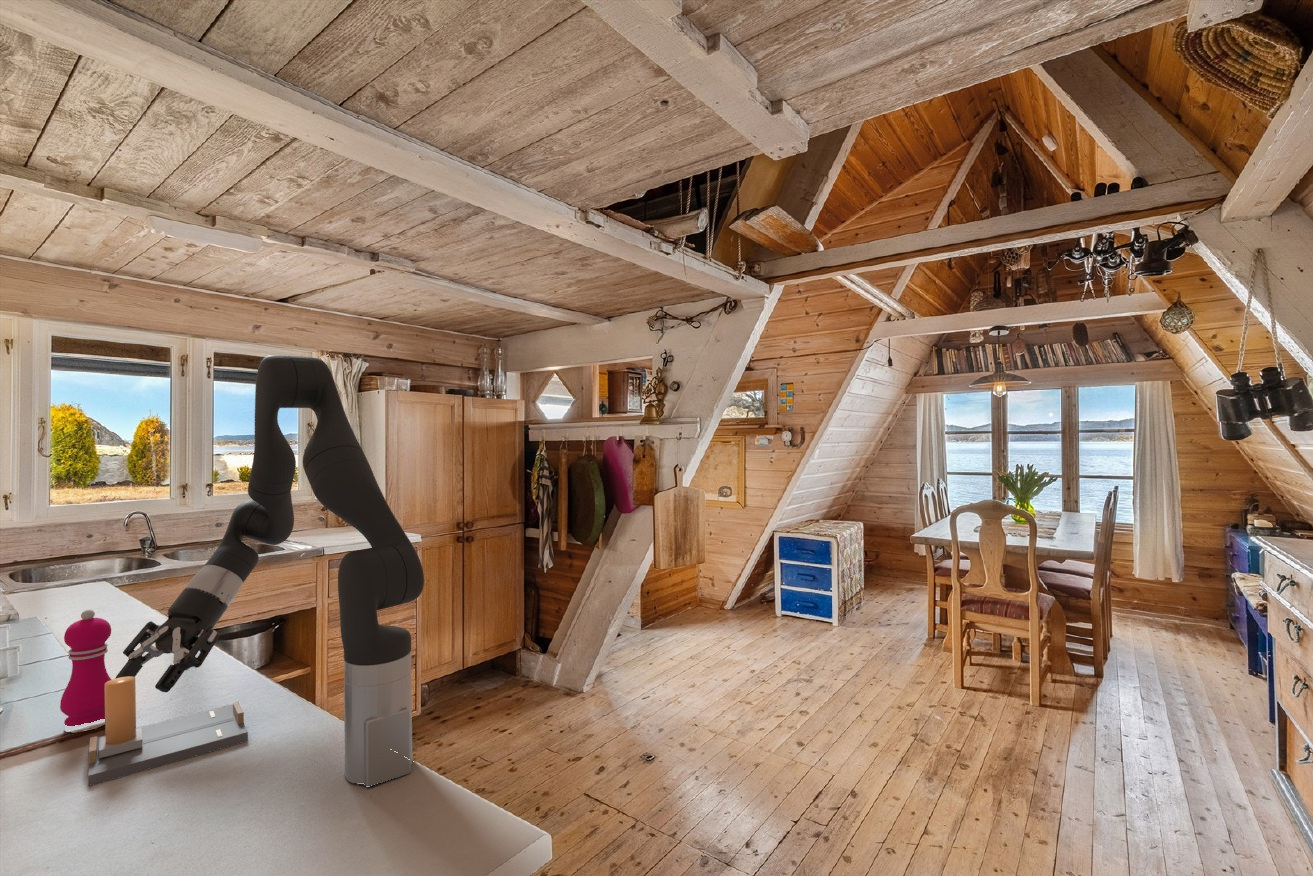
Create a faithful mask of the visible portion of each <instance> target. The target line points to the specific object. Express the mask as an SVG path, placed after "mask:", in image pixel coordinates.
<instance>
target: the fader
mask: <svg viewBox="0 0 1313 876" xmlns="http://www.w3.org/2000/svg"><path fill="white" fill-rule="evenodd" d="M115 678H116V677H115ZM115 678H114V679H111V680H110V681H108V682H106V683H105V726H104V728H105V730H104V733H105V735H104V736H105V737H102V736H101V737H102V738H100V740H99V758H103V757H107V756H110V755H114V754H118V753H122V752H126V751H129V750H133V749H137V748H141V747H143V739H142V729H141V728H138V727H137V700H136V693H137V691H136V687H137V686H136V676H135V677H132V676H128V677H121V678H116V679H115ZM136 728H138V729H136Z"/></svg>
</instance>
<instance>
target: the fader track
mask: <svg viewBox="0 0 1313 876" xmlns="http://www.w3.org/2000/svg"><path fill="white" fill-rule="evenodd" d="M244 713H245V712H244V710H243V708H242V705H241V704H240V702H239V701H235V702H232V704H228V705H225V706H220V707H217V708H212V709H207V710H204V711H200V712H196V713H192V714H187V715H184V716H180V717H175V718H172V719H167V720H163V721H158V722H156V723H152V724H151V723H150V724H147V725H143V726H140V727H136V729H138V728H141V729H142V739H143V747H141V748H137V749H133V750H129V751H126V752H122V753H118V754H114V755H110V756H107V757H103V758H99V740H100V738H102V737H105V735H103V736H99V737H98V736H97V735H95V736H91V737H90V738H89V748H88V775H87V776H88V779H87V781H88V784H87V785H88V787H89V786H90V787H91V786H93V785H98V784H101V783H104V782H109V781H113V780H115V779H118V778H123V777H126V776H129V775H133V774H136V773H140V772H144V771H147V770H150V769H154V768H157V767H160V766H165V765H168V764H172V763H175V762H179V761H182V760H186V759H189V758H190V759H191V758H193V757H196V756H195V755H197V756H200V755H203V754H202V753H204V754H207V753H210V752H209V751H211V752H213V751H214V750H215V751H217V749H218V750H220V748H222V749H225V748H228V747H227V746H229V747H232V746H236V745H239V744H242V743H241V742H243V743H246V742H248V741H249V732H248V729H247V726H246V725H245V722H244V721H245V719H244V718H245V717H244V716H245V715H244ZM238 743H239V744H238ZM235 744H236V745H235ZM224 747H225V748H224ZM206 752H207V753H206Z"/></svg>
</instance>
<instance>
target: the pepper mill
mask: <svg viewBox="0 0 1313 876" xmlns="http://www.w3.org/2000/svg"><path fill="white" fill-rule="evenodd" d="M80 618H81V619H79V620H77V621H74V622H73V623H72V624H70V625H69V626H68V627H67V628H66V630H65V632H64V635H63V636H64V637H63V640H64V641H63V642H64V643H65V645H66V646H68V647H69V648H70V649H69V650H68V654H69V656H68V657H67V658H68V659H69V660H71V665H72V666H71V674H70V678H69V681H68V683H67V685H66V688H65V689H64V690H63V693H62V695H61V698H60V704H59V709H60V712H62V713H63V714H64V715H65V716H67V717H65V719H64V721H63V722H64V723H63V725H64V724H65V725H67V726H75V725H81V724H84V723H91V722H94V721H97V720H100V719H105V683H106V682H108V681H110V680H112V678H111V677H110V675H109V673H108V672H107V668H106V663H105V655H106V654H107V653H108V651H109V649H108V646H109V644H108V643H106V641H108V639H109V638H110V637H111V634H112V627H111V624H110V622H109V621H107V620H106V619H103V618H100V617H95V611H94V610H92V609H85V610H83V611H82V612H81V613H80Z"/></svg>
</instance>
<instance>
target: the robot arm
mask: <svg viewBox="0 0 1313 876" xmlns="http://www.w3.org/2000/svg"><path fill="white" fill-rule="evenodd" d="M256 372H257V373H256V376H255V377H256V378H255V394H254V450H253V459H252V465H251V469H250V470H251V471H250V474H249V475H250V476H249V480H248V481H249V482H248V486H247V495H248V496H249V498H251V499H248V500H245V501H243V502H242V503H240V504H239V505H237V506H236V508H234V510H233V512H232V514H231V517H230V519H229V521H228V522H229V523H228V525H227V528H226V530H225V532H224V535H223V537H222V539H221V541H220V543H219V545H218V547H217V548H216V550H215V551H214V552H213V554H212V555H211V556H210V558H209V559H208V560H207V562H206V563H205V564H204V565H203V566H202V568H201V569H200V570H199V571H198V572H197V573H196V574H195V575H194V576H193V577H192V578H191V579H190V581H189V582H188V583H187V584H186V586H185V587H184V589H183V590H182V591H181V593H180V594H179V595H177V596H178V597H177V598H176V599H175V601H173V602H172V604H171V605H170V606H169V608H168V610H167V615H168V617H167V620H165V621H164V622H163V623H162V624H156V623H155V622H153V621H148V622H147V623H146V624H145V625H144V626H143V627H142V628H141V629H140V630H139V632H138V633H137V634H136V636H134V638H133V639H132V641H130V643H129V644H128V645H127V646H126V647H125V648H124V649H123V651H122V653H123V655H124V656H126V657H127V658H128V660H127V662H126V663H125V664H124V665H123V667H122V668H121V670H120V671H118V674H116V676H115V678H114V679H116V678H121V677H128V676H132V677H135V678H136V676H137V675H138V673H140V671H141V670H142V668H143V667H144V666H143V665H145V664H146V663H147V662H149V661H151V660H152V659H153V658H159V657H160V656H162V655H163V654H173V660H172V663H173V664H170V665H168V667H167V669H165V671H164V673H163V674H162V675H161V677H160V678H159V680H158V681H157V682H156V684H155V686H154V687H155V689H156V690H158V691H159V692H162V693H169V692H170V690H172V688H174V686H175V685H176V683H178V680H179V679H180V678H181V677H182V675H183V674H184V672H186V671H188V670H189V669H191V668H196V669H197V668H200V667H201V666H202V665H203V663H204V661H205V660H206V659H207V657H208V656H209V654H210V652H211V650H212V649H213V647H214V646H215V644H216V643H217V641H218V640H219V638H220V635H221V634H220V633H219V632H217V631H216V630H215V629H214V628H215V626H216V625H217V624H218V622H219V620H220V619H221V618H222V616H223V615H224V614H225V612H226V610H227V609H228V608H229V607H230V605H231V604H232V602H233V601H234V599H235V598H236V597H237V595H238V593H239V591H240V589H241V587H242V585H244V583H245V581H246V580H247V579H248V577H249V575H250V574H251V573H252V572H253V570H254V569H255V567H256V566H257V564H258V562H259V558H260V556H259V554H258V552H257V551H256V550H255V549H253V548H252V547H251V546H249V545H247V544H246V543H244V542H243V541H242V540H243V538H248V539H250V540H253V541H257V542H260V543H263V544H267V545H270V546H278V545H280V544H283V543H284V542H286V541H287V540H288V539H289V537H290V535H292V533H293V529H294V524H295V513H294V508H293V507H294V506H293V501H292V493H291V492H292V487H293V484H294V483H293V482H294V478H295V475H296V474H295V473H296V469H297V468H296V467H297V465H296V464H297V461H296V456H295V454H294V453H295V452H294V451H293V449H292V447H291V444H290V443H289V442H288V440H287V439H286V437H285V436H284V434H283V432H282V430H281V428H280V426H279V420H278V417H279V416H278V414H279V411H280V409H311V410H312V411H313V412H314V414H315V417H316V419H317V422H316V426H315V428H314V430H313V433H312V434H311V436H310V438H309V440H308V442H307V444H306V447H305V450H304V452H303V455H302V467H303V470H304V473H305V475H306V478H307V481H308V484H309V486H310V488H311V490H312V493H313V495H314V497H315V498H316V499H317V500H318V501H319V502H320V504H321V505H323V507H325V508H326V509H327V510H328V511H330V512H331V513H332V514H334V515H335V516H337V517H339V518H340V519H341V520H342V521H345V522H346V523H347V524H349V525H350V526H351V527H353V528H354V529H355V530H357V531H358V532H359V533H361V534H362V536H363V537H364V538H365V539H366V541H367V543H369V545H370V547H368V548H367V547H366V548H361V549H357V550H352V551H349V552H347V553H346V554H345V555H344V556H343V557H342V559H341V560H340V562H339V566H338V572H337V593H338V595H337V596H338V603H339V604H338V605H339V618H340V619H339V621H340V622H339V624H340V636H341V642H342V648H343V693H344V694H343V704H344V705H343V707H344V708H343V709H344V711H343V712H344V713H343V714H344V715H343V716H344V717H343V719H344V725H343V726H344V731H343V732H344V777H345V779H346V781H347V782H349V783H352V784H354V783H364V784H365V785H366V786H371V785H374V784H377V783H381V784H384V783H386V782H389V781H391V779H392V780H394V778H395V779H397V778H400V777H402V776H405V775H408V774H410V773H412V771H411V770H412V763H413V721H412V720H413V716H412V715H413V712H412V711H413V708H412V707H413V705H412V704H413V703H412V701H413V700H412V699H413V696H412V694H413V693H412V692H413V691H412V635H411V632H410V631H409V630H408V629H406V628H404V627H399V626H397V625H396V626H394V625H388V624H387V625H386V624H385V625H384V624H380V623H379V620H378V612H377V611H379V610H384V609H388V608H393V607H396V606H400V605H404V604H407V603H411V602H413V601H415V600H417V598H419V597H420V596H421V594H422V592H423V589H424V586H425V576H424V575H425V574H424V568H423V565H422V562H421V559H420V556H419V555H418V553H417V551H416V548H415V547H414V545H413V543H412V542H411V541H410V539H409V537H408V535H407V534H406V532H405V531H404V529H403V528H402V526H401V524H400V523H399V521H398V519H397V518H396V516H395V514H394V512H393V511H392V509H391V507H390V506H389V504H388V502H387V499H386V498H385V497H384V494H383V492H382V490H381V488H380V486H379V483H378V481H377V479H376V477H375V475H374V471H373V470H372V467H371V465H370V463H369V460H368V459H367V457H366V454H365V452H364V451H363V449H362V447H361V444H360V443H359V440H358V439H357V436H356V435H355V433H354V430H353V428H352V426H351V424H350V421H349V419H348V416H347V414H346V411H345V409H344V406H343V403H342V400H341V397H340V393H339V391H338V388H337V387H338V386H337V384H336V381H335V379H334V376H333V374H332V371H331V369H330V368H329V366H328V364H327V363H326V362H325V361H324V360H322V359H321V358H316V357H312V356H298V355H297V356H295V355H282V354H280V355H279V354H273V355H272V354H270V355H267V356H264V357H263V358H262V359H261V361H260V363H259V366H258V368H257V371H256ZM139 644H140V646H139V648H136V647H138V645H139ZM199 652H200V653H199ZM198 653H199V654H198ZM197 654H198V656H197ZM196 656H197V657H196ZM390 749H392V750H390ZM394 751H396V752H398V753H396V752H394ZM404 756H405V757H407V758H408V759H410V760H408V759H407V758H405V757H404ZM411 760H412V761H411ZM388 780H389V781H388ZM385 781H386V782H385ZM383 782H384V783H383Z"/></svg>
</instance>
